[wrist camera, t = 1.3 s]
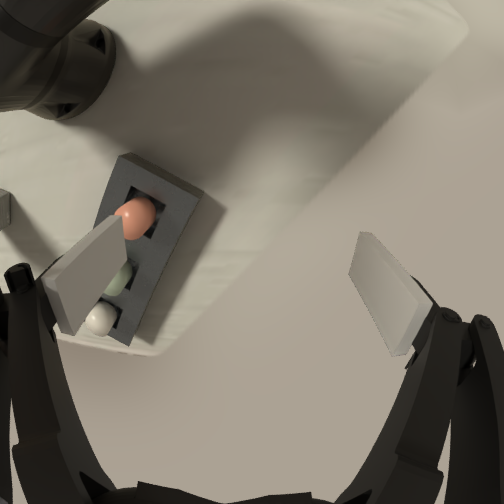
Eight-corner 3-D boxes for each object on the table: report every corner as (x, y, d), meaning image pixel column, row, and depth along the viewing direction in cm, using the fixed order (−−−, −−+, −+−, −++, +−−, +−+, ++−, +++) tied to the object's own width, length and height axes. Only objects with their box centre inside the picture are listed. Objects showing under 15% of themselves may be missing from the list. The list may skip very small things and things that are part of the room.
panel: (83, 303, 41) (74, 314, 38) (130, 152, 30) (118, 155, 27) (135, 333, 43) (129, 346, 40) (204, 191, 33) (198, 198, 30)
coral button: (122, 218, 31) (109, 229, 27) (133, 190, 29) (120, 198, 26) (148, 233, 32) (138, 246, 28) (161, 206, 30) (151, 216, 27)
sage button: (104, 272, 34) (92, 286, 31) (111, 250, 33) (98, 263, 29) (127, 286, 35) (118, 301, 32) (136, 264, 33) (125, 278, 30)
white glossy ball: (93, 313, 37) (83, 327, 34) (97, 296, 36) (87, 310, 33) (114, 325, 38) (105, 340, 35) (119, 309, 37) (110, 324, 34)
